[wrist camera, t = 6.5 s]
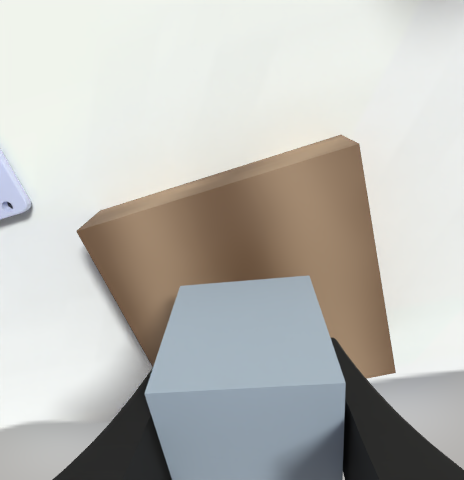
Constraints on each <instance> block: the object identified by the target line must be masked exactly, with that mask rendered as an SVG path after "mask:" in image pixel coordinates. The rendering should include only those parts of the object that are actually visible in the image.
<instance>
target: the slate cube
mask: <svg viewBox="0 0 464 480" xmlns="http://www.w3.org/2000/svg"><path fill="white" fill-rule="evenodd" d="M345 388H346V383H345V380H344V377H343V374H342V371H341V368H340V365H339V362H338V359H337V356H336V353H335V350H334V347H333V344H332V341H331V338H330V335H329V332H328V329H327V326H326V323H325V320H324V317H323V314H322V311H321V308H320V306H319V303H318V300H317V297H316V294H315V291H314V288H313V285H312V282H311V279H310V276H296V277H284V278H272V279H260V280H247V281H235V282H223V283H210V284H198V285H186V286H180V288H179V291H178V294H177V297H176V300H175V303H174V306H173V309H172V312H171V315H170V318H169V321H168V324H167V327H166V330H165V333H164V336H163V339H162V342H161V345H160V348H159V351H158V354H157V357H156V360H155V363H154V366H153V369H152V373H151V376H150V379H149V382H148V385H147V388H146V391H145V397H146V400H147V403H148V406H149V409H150V413H151V416H152V419H153V422H154V425H155V428H156V431H157V434H158V437H159V440H160V444H161V447H162V450H163V453H164V456H165V459H166V462H167V465H168V468H169V471H170V475H171V478H172V480H342V475H343V446H344V417H345Z"/></svg>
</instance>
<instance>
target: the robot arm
mask: <svg viewBox="0 0 464 480" xmlns="http://www.w3.org/2000/svg"><path fill="white" fill-rule="evenodd" d="M7 202H9V203H11V204H12V206H13V209H12V208H10V207H9V206H8V203H7ZM30 207H31V201H30V199H29V197H28V195H27V193H26V192H25V190H24V188H23V187H22V185H21V183H20V181H19V180H18V178H17V176H16V175H15V173H14V171H13V169H12V168H11V166H10V164H9V162H8V161H7V159H6V157H5V156H4V154H3V152H2V150H1V149H0V220H1V219H5V218H8V217H11V216H14V215H18V214H21V213H23V212H25V211H27V210H29V209H30ZM331 341H332V344H333V347H334V350H335V353H336V356H337V359H338V362H339V365H340V368H341V371H342V374H343V377H344V380H345V383H346V388H345V417H344V446H343V473H344V477H345V480H464V470H463V469H462V468H461V467H459V466H458V465H457V464H456V463H454V462H453V461H452V460H451V459H449V458H448V457H447V456H445V455H444V454H443V453H442V452H440V451H439V450H438V449H437V448H436V447H434V446H433V445H432V444H431V443H430V442H429V441H427V440H426V439H425V438H424V437H423V436H422V435H421V434H420V433H418V432H417V431H416V430H415V429H414V428H413V427H412V426H411V425H410V424H409V423H408V422H406V421H405V420H404V419H403V418H402V417H401V416H400V415H399V414H398V413H397V412H396V411H395V410H394V409H393V408H392V407H391V406H390V405H389V404H388V403H387V402H386V400H385V399H384V398H383V397H382V396H381V395H380V394H379V393H378V392H377V391H376V390H375V388H374V387H373V386H372V385H371V384H370V383H369V381H368V380H367V379H366V378H365V377H364V376H363V374H362V373H361V372H360V371H359V369H358V368H357V367H356V366H355V364H354V363H353V362H352V361H351V359H350V358H349V357H348V355H347V354H346V353H345V351H344V350H343V348H342V347H341V345H340V344H339V343H338V341H337V340H336V339H335V338H331ZM152 369H153V368H152ZM151 373H152V370H151V371H150V372H149V374H148V375H147V377H146V378H145V380H144V381H143V382H142V384H141V385H140V386H139V388H138V389H137V390H136V392H135V393H134V394H133V396H132V397H131V398H130V400H129V401H128V402H127V403H126V404H125V406H124V407H123V408H122V409H121V411H120V412H119V413H118V414H117V416H116V417H115V418H114V419H113V420H112V421H111V423H110V424H109V425H108V426H107V427H106V428H105V429H104V430H103V431H102V433H101V434H100V435H99V436H98V437H97V438H96V439H95V440H94V441H93V442H92V443H91V444H90V445H89V446H88V447H87V448H86V449H85V450H84V451H83V452H82V453H81V454H80V455H79V456H78V457H77V458H76V459H75V460H74V461H73V462H72V463H71V464H70V465H69V466H67V468H66V469H64V470H63V471H62V472H61V473H60V474H59V475H58V476H56V477H55V478H54V479H53V480H172V478H171V475H170V471H169V468H168V465H167V462H166V459H165V456H164V453H163V450H162V447H161V444H160V440H159V437H158V434H157V431H156V428H155V425H154V422H153V419H152V416H151V413H150V409H149V406H148V403H147V400H146V397H145V391H146V388H147V385H148V382H149V379H150V376H151Z"/></svg>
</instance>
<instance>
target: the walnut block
mask: <svg viewBox="0 0 464 480" xmlns="http://www.w3.org/2000/svg"><path fill="white" fill-rule="evenodd" d="M77 233H78V235H79V237H80V238H81V240H82V242H83V244H84V246H85V247H86V249H87V251H88V253H89V254H90V256H91V258H92V260H93V262H94V263H95V265H96V267H97V269H98V270H99V272H100V274H101V276H102V277H103V279H104V281H105V283H106V285H107V286H108V288H109V290H110V292H111V293H112V295H113V297H114V299H115V301H116V302H117V304H118V306H119V308H120V309H121V311H122V313H123V315H124V317H125V318H126V320H127V322H128V324H129V325H130V327H131V329H132V331H133V333H134V334H135V336H136V338H137V340H138V341H139V343H140V345H141V347H142V349H143V350H144V352H145V354H146V356H147V357H148V359H149V361H150V363H151V365H152V366H154V363H155V360H156V357H157V354H158V351H159V348H160V345H161V342H162V339H163V336H164V333H165V330H166V327H167V324H168V321H169V318H170V315H171V312H172V309H173V306H174V303H175V300H176V297H177V294H178V291H179V288H180V286H186V285H198V284H210V283H223V282H235V281H247V280H260V279H272V278H284V277H296V276H310V279H311V282H312V285H313V288H314V291H315V294H316V297H317V300H318V303H319V306H320V308H321V311H322V314H323V317H324V320H325V323H326V326H327V329H328V332H329V335H330V338H335V339H336V340H337V341H338V343H339V344H340V345H341V347H342V348H343V350H344V351H345V353H346V354H347V355H348V357H349V358H350V359H351V361H352V362H353V363H354V364H355V366H356V367H357V368H358V369H359V371H360V372H361V373H362V374H363V376H364V377H365V378H371V377H376V376H382V375H387V374H392V373H396V372H395V365H394V359H393V353H392V347H391V340H390V334H389V328H388V322H387V315H386V309H385V303H384V296H383V290H382V284H381V278H380V271H379V265H378V259H377V253H376V246H375V240H374V234H373V228H372V221H371V215H370V209H369V203H368V196H367V190H366V184H365V177H364V171H363V165H362V159H361V152H360V146H359V143H357V142H354V141H352V140H350V139H348V138H346V137H344V136H342V135H339V136H336V137H332V138H329V139H326V140H323V141H320V142H317V143H313V144H310V145H307V146H304V147H301V148H298V149H294V150H291V151H288V152H285V153H282V154H278V155H275V156H272V157H269V158H266V159H263V160H259V161H256V162H253V163H250V164H247V165H244V166H240V167H237V168H234V169H231V170H228V171H225V172H221V173H218V174H215V175H212V176H209V177H205V178H202V179H199V180H196V181H193V182H190V183H186V184H183V185H180V186H177V187H174V188H171V189H167V190H164V191H161V192H158V193H155V194H152V195H148V196H145V197H142V198H139V199H136V200H132V201H129V202H126V203H123V204H120V205H117V206H113V207H110V208H107V209H104V210H101V211H99V212H98V213H97V214H96V215H95V216H93V217H92V218H91V219H90V220H89V221H88V222H86V223H85V224H84V225H83V226H82V227H81V228H79V229H78V230H77Z"/></svg>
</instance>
